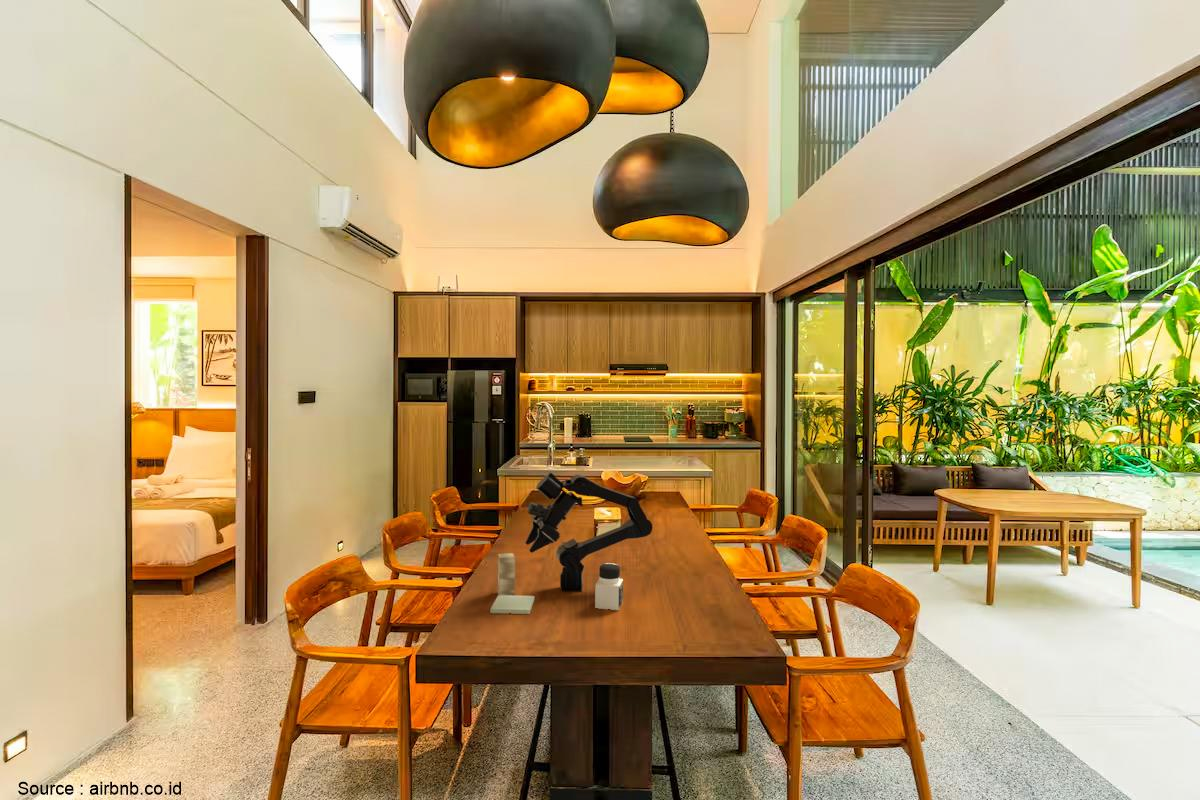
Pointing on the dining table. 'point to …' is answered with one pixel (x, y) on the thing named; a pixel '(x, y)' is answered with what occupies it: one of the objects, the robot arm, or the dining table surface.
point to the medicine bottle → (609, 587)
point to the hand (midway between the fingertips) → (528, 547)
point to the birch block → (506, 574)
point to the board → (512, 604)
